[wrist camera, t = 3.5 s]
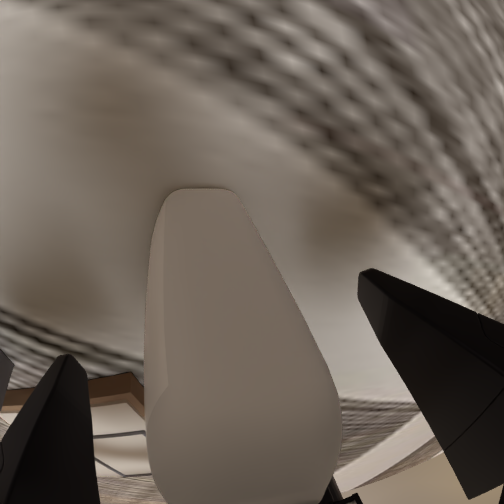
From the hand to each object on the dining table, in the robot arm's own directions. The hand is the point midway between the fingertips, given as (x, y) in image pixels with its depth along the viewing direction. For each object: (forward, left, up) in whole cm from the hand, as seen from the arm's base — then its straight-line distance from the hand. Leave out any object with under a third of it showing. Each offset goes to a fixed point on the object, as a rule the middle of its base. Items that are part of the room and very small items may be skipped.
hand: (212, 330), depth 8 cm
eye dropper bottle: (0, 0, -4) cm, 4 cm away
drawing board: (-11, +10, -4) cm, 16 cm away
